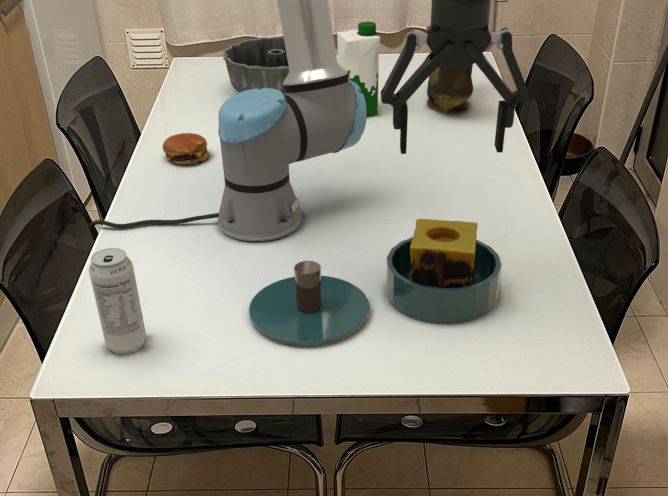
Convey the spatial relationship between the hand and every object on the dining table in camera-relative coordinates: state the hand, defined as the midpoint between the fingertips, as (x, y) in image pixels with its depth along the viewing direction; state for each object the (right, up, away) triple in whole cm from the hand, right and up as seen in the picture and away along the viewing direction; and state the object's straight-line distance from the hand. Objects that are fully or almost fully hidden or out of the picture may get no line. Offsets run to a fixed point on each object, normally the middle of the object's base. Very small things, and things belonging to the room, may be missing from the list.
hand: (450, 149), depth 119 cm
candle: (+1, -19, +14) cm, 24 cm away
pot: (+1, -20, +14) cm, 24 cm away
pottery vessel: (+11, +29, +81) cm, 86 cm away
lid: (-20, -22, +10) cm, 32 cm away
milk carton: (-10, +28, +79) cm, 84 cm away
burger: (-48, +12, +60) cm, 77 cm away
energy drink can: (-47, -28, +5) cm, 55 cm away
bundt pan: (-30, +37, +92) cm, 104 cm away
